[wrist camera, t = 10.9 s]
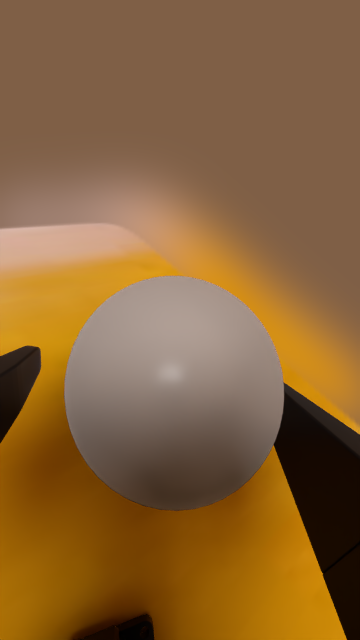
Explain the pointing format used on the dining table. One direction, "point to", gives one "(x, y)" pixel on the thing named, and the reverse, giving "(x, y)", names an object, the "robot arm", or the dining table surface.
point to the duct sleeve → (174, 393)
